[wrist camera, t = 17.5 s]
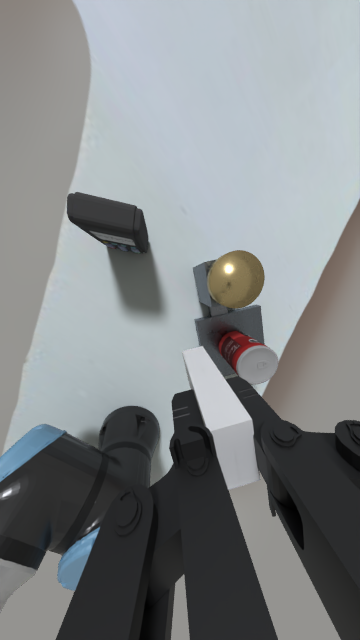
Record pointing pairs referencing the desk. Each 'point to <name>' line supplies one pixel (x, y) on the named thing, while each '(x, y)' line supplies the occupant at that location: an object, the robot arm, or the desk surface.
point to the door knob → (235, 279)
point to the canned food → (248, 357)
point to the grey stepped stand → (223, 321)
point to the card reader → (109, 221)
